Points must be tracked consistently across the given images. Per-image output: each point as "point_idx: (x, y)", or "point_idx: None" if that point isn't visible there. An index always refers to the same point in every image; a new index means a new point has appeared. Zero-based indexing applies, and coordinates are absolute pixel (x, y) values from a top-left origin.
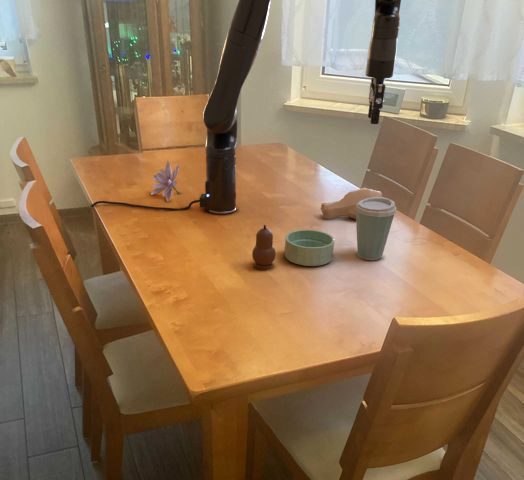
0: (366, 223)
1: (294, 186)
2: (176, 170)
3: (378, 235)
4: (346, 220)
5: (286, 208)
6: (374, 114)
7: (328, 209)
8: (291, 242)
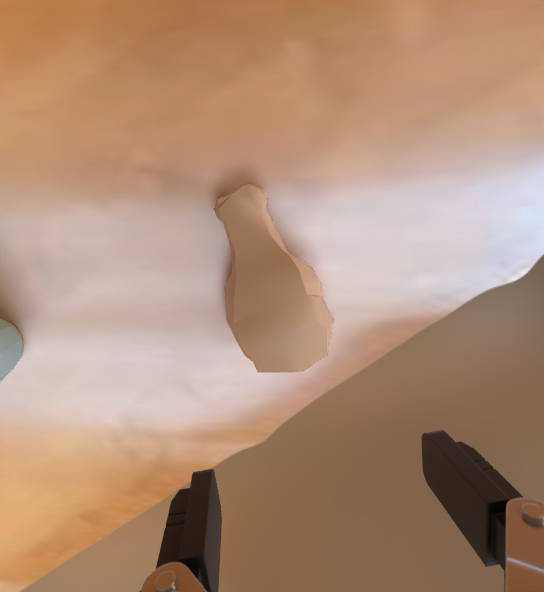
0: None
1: (517, 63)
2: None
3: None
4: None
5: (287, 67)
6: (163, 549)
7: (217, 210)
8: None
